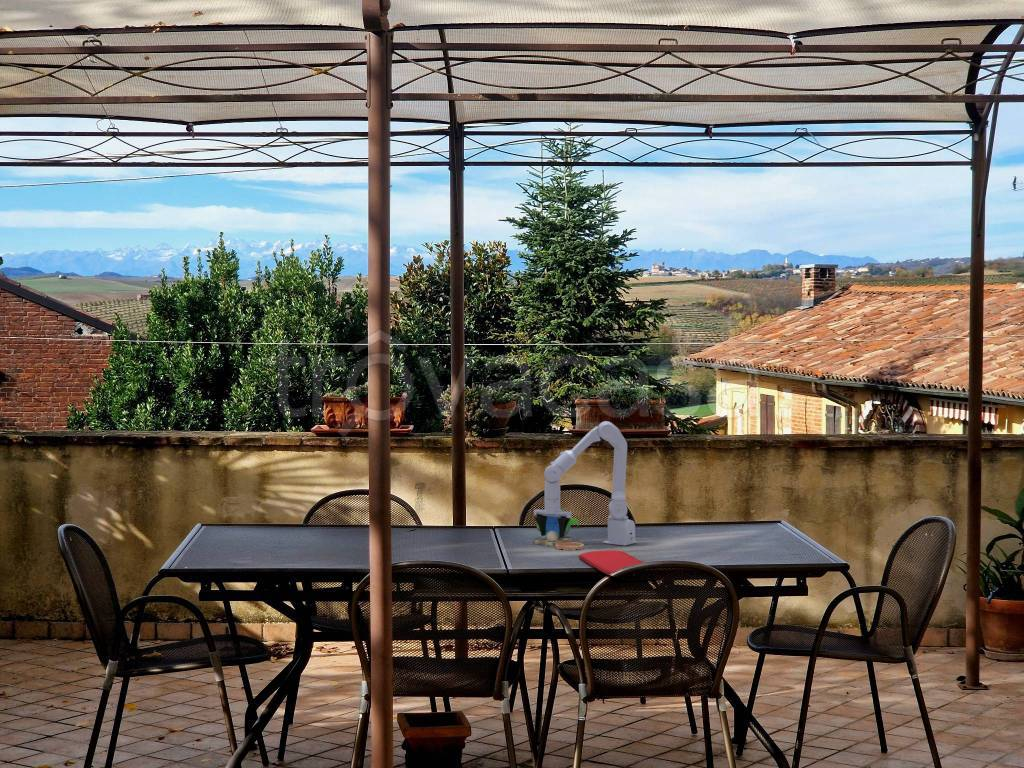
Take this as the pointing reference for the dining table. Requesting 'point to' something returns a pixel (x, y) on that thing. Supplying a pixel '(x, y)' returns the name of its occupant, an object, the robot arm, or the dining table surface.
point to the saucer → (569, 545)
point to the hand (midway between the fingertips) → (552, 536)
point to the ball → (552, 536)
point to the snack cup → (557, 524)
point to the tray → (547, 542)
